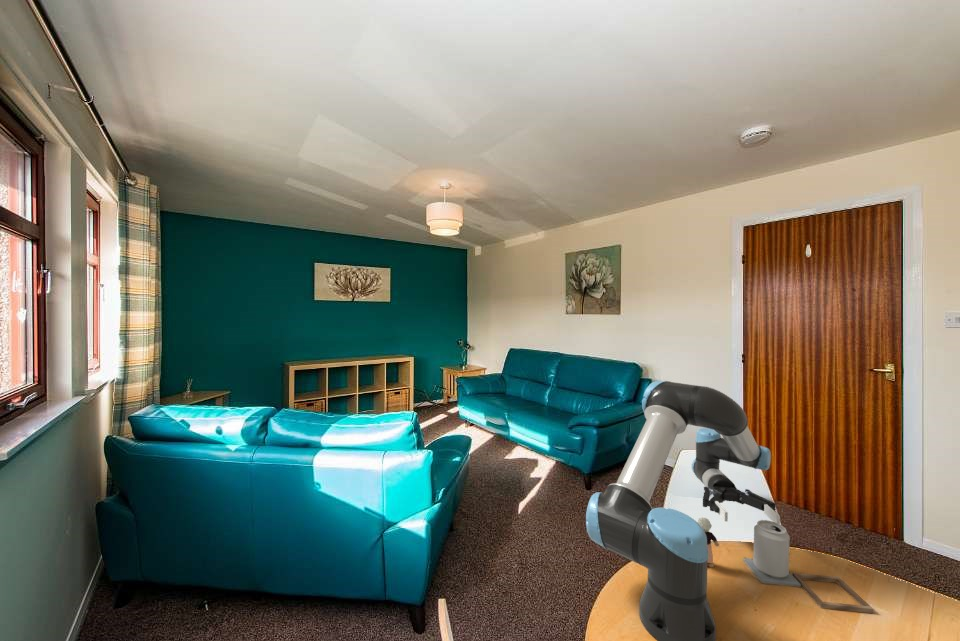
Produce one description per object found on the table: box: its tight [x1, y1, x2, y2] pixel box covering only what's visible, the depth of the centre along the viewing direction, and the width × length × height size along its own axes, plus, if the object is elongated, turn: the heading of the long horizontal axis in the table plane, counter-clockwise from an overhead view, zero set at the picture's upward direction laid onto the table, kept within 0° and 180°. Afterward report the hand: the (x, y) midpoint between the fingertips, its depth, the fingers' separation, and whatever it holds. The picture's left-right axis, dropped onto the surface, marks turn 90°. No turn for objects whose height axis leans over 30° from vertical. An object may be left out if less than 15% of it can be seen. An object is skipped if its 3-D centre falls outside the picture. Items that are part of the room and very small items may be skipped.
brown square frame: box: [791, 572, 875, 614], centre depth 95 cm, size 11×11×1 cm
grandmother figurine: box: [696, 517, 720, 568], centre depth 105 cm, size 8×4×13 cm, turn 106°
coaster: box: [742, 557, 802, 588], centre depth 102 cm, size 9×9×1 cm
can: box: [752, 519, 791, 578], centre depth 102 cm, size 8×8×12 cm
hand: (752, 518), depth 111 cm, fingers open, 13 cm apart
